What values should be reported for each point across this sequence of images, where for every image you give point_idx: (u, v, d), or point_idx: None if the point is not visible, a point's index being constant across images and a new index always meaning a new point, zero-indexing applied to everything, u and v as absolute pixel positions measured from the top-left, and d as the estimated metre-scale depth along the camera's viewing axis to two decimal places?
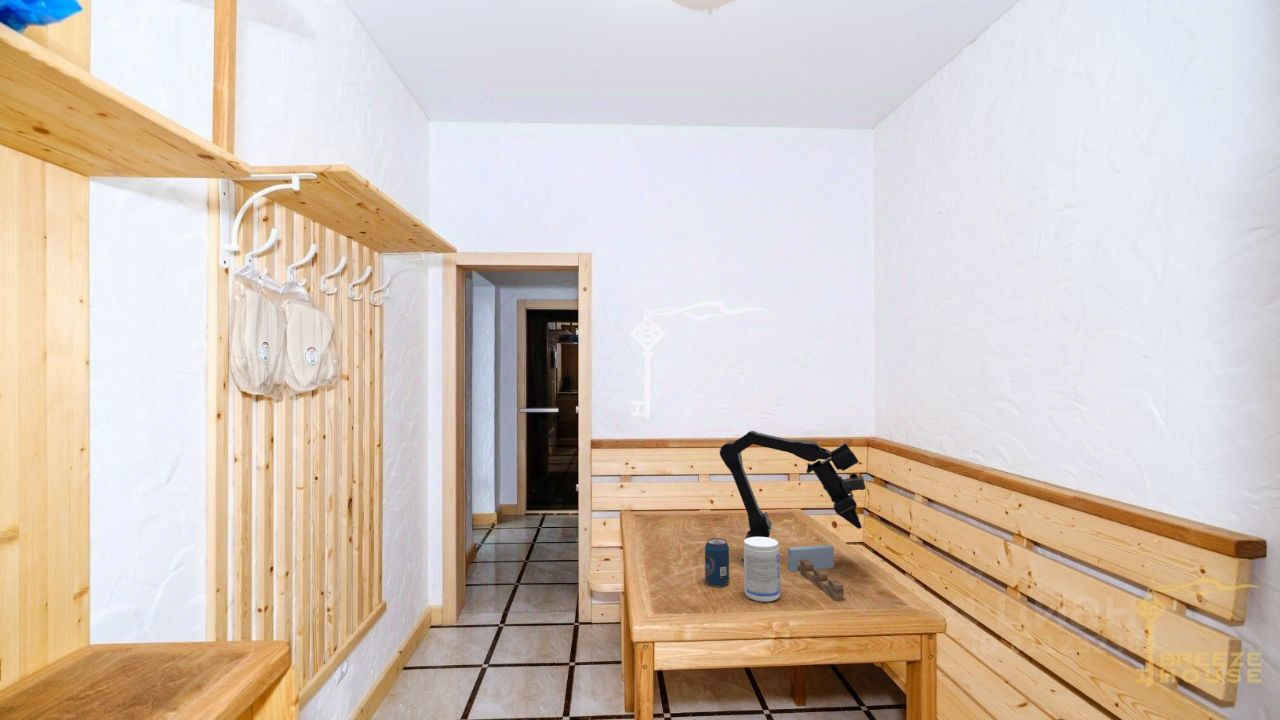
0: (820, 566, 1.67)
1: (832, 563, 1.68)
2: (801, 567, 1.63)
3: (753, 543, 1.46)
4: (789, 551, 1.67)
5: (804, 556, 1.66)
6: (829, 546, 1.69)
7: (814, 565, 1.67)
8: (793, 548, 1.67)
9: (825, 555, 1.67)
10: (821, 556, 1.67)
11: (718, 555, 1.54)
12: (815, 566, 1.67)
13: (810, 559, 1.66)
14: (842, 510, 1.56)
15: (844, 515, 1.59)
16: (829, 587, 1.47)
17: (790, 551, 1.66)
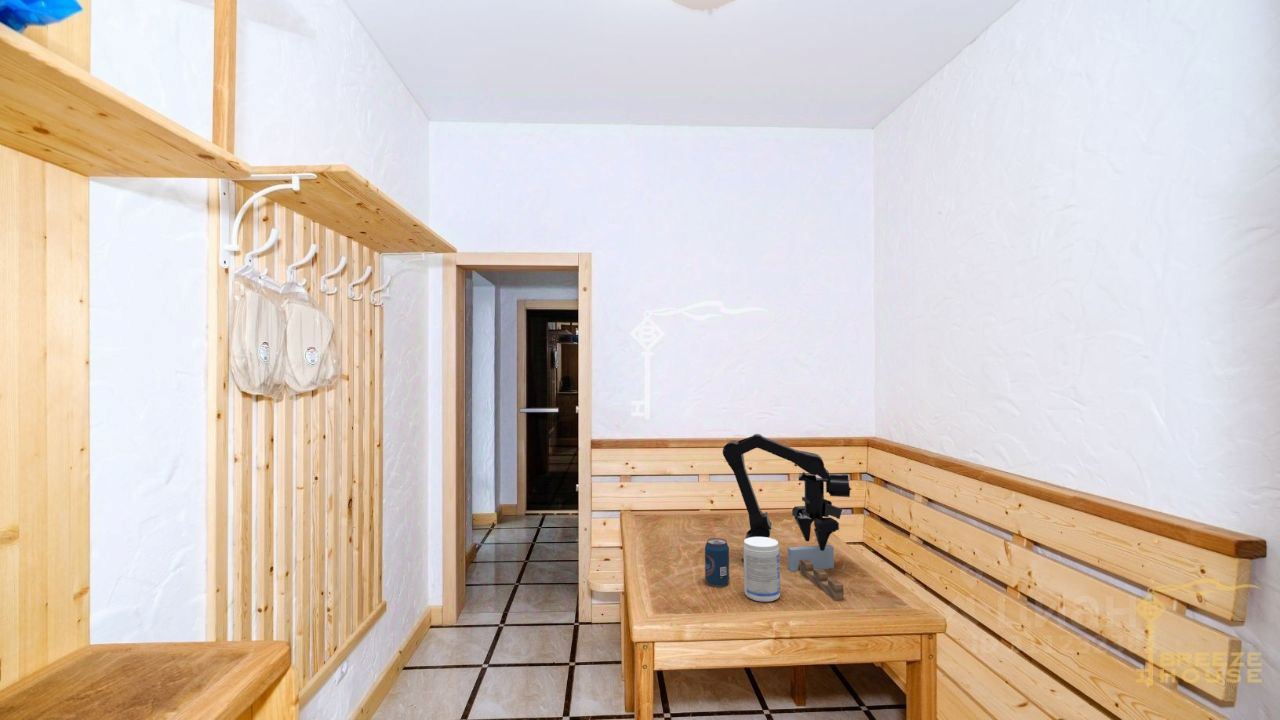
0: (820, 566, 1.67)
1: (832, 563, 1.68)
2: (801, 567, 1.63)
3: (753, 543, 1.46)
4: (789, 551, 1.67)
5: (804, 556, 1.66)
6: (829, 546, 1.69)
7: (814, 565, 1.67)
8: (793, 548, 1.67)
9: (825, 555, 1.67)
10: (821, 556, 1.67)
11: (718, 555, 1.54)
12: (815, 566, 1.67)
13: (810, 559, 1.66)
14: (826, 529, 1.59)
15: (820, 534, 1.62)
16: (829, 587, 1.47)
17: (790, 551, 1.66)
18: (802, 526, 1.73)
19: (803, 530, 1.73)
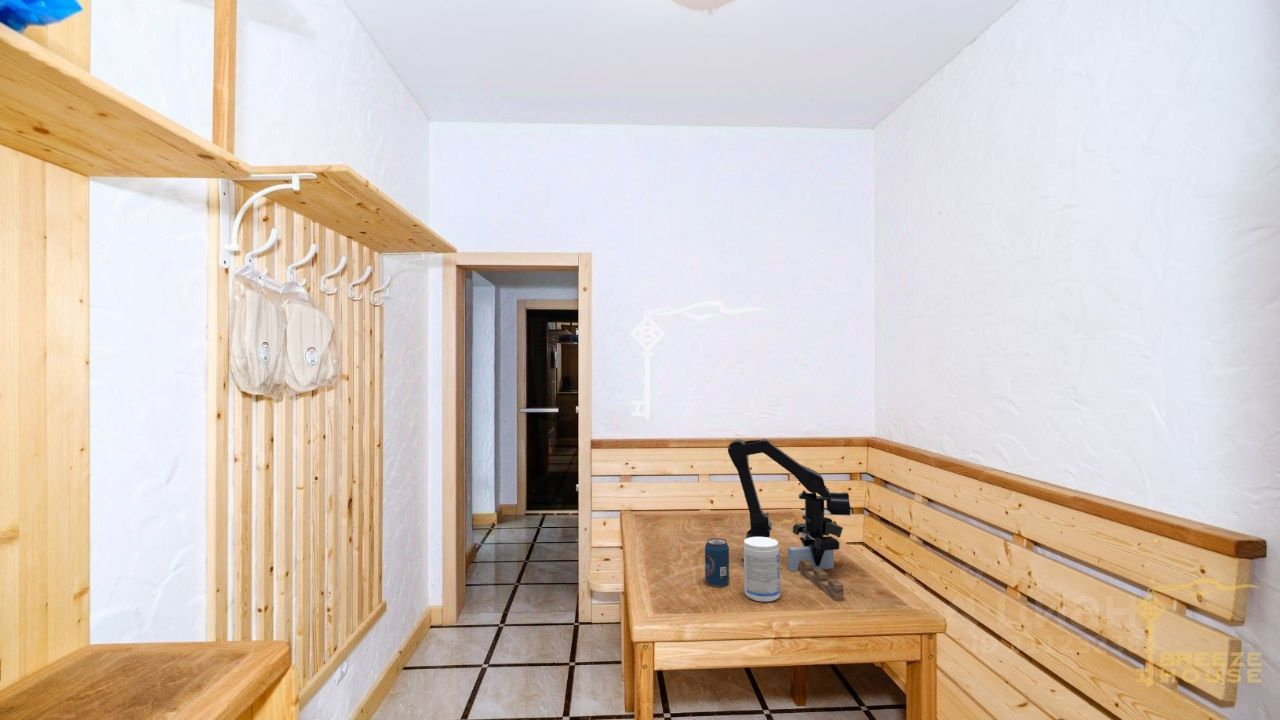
0: (820, 566, 1.67)
1: (832, 563, 1.68)
2: (801, 567, 1.63)
3: (753, 543, 1.46)
4: (789, 551, 1.67)
5: (804, 556, 1.66)
6: None
7: (814, 565, 1.67)
8: (793, 548, 1.67)
9: (825, 555, 1.67)
10: None
11: (718, 555, 1.54)
12: (815, 566, 1.67)
13: (810, 559, 1.66)
14: (827, 548, 1.59)
15: (815, 549, 1.65)
16: (829, 587, 1.47)
17: (790, 551, 1.66)
18: None
19: None
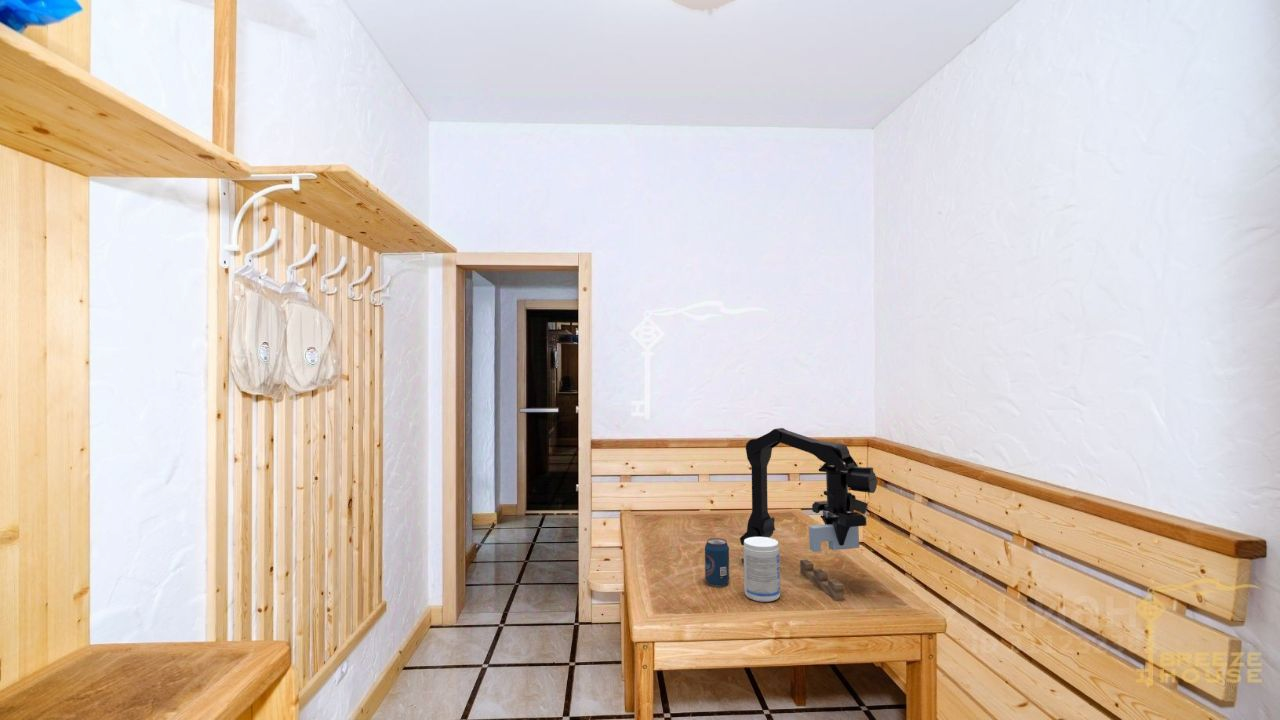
0: (845, 546, 1.53)
1: (857, 542, 1.54)
2: (801, 567, 1.63)
3: (753, 543, 1.46)
4: (811, 530, 1.53)
5: (827, 535, 1.52)
6: None
7: (838, 544, 1.53)
8: (815, 526, 1.53)
9: (849, 533, 1.54)
10: None
11: (718, 555, 1.54)
12: (839, 545, 1.53)
13: (834, 538, 1.52)
14: (853, 525, 1.45)
15: (839, 527, 1.51)
16: (829, 587, 1.47)
17: (812, 529, 1.52)
18: None
19: None
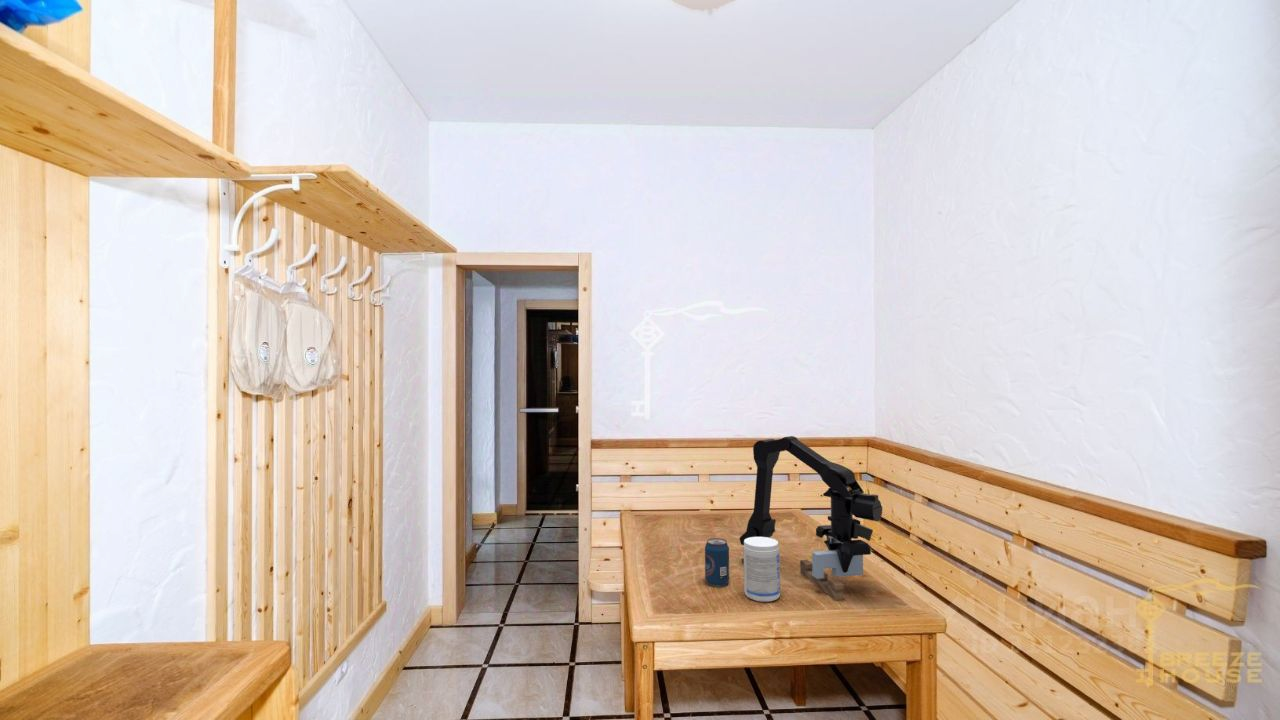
0: (848, 573, 1.50)
1: (861, 569, 1.51)
2: (801, 567, 1.63)
3: (753, 543, 1.46)
4: (814, 556, 1.50)
5: (831, 561, 1.49)
6: None
7: (841, 571, 1.50)
8: (818, 552, 1.50)
9: (854, 560, 1.51)
10: None
11: (718, 555, 1.54)
12: (842, 572, 1.50)
13: (837, 565, 1.50)
14: (857, 553, 1.42)
15: (842, 554, 1.48)
16: (829, 587, 1.47)
17: (815, 556, 1.49)
18: None
19: None
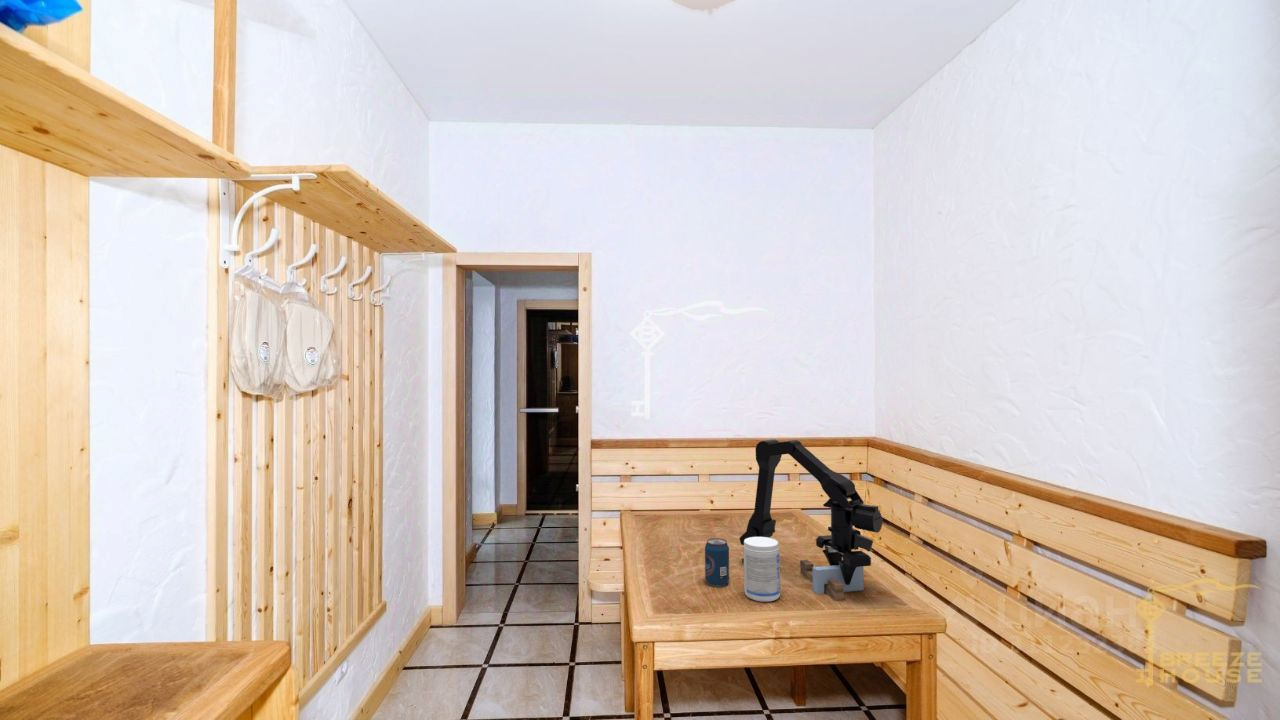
0: (849, 588, 1.50)
1: (862, 584, 1.51)
2: (801, 567, 1.63)
3: (753, 543, 1.46)
4: (814, 571, 1.50)
5: (831, 576, 1.49)
6: None
7: None
8: (818, 568, 1.50)
9: (854, 575, 1.51)
10: None
11: (718, 555, 1.54)
12: (843, 587, 1.50)
13: (837, 580, 1.50)
14: (857, 565, 1.42)
15: (845, 566, 1.47)
16: (829, 587, 1.47)
17: (815, 571, 1.49)
18: (831, 560, 1.54)
19: None
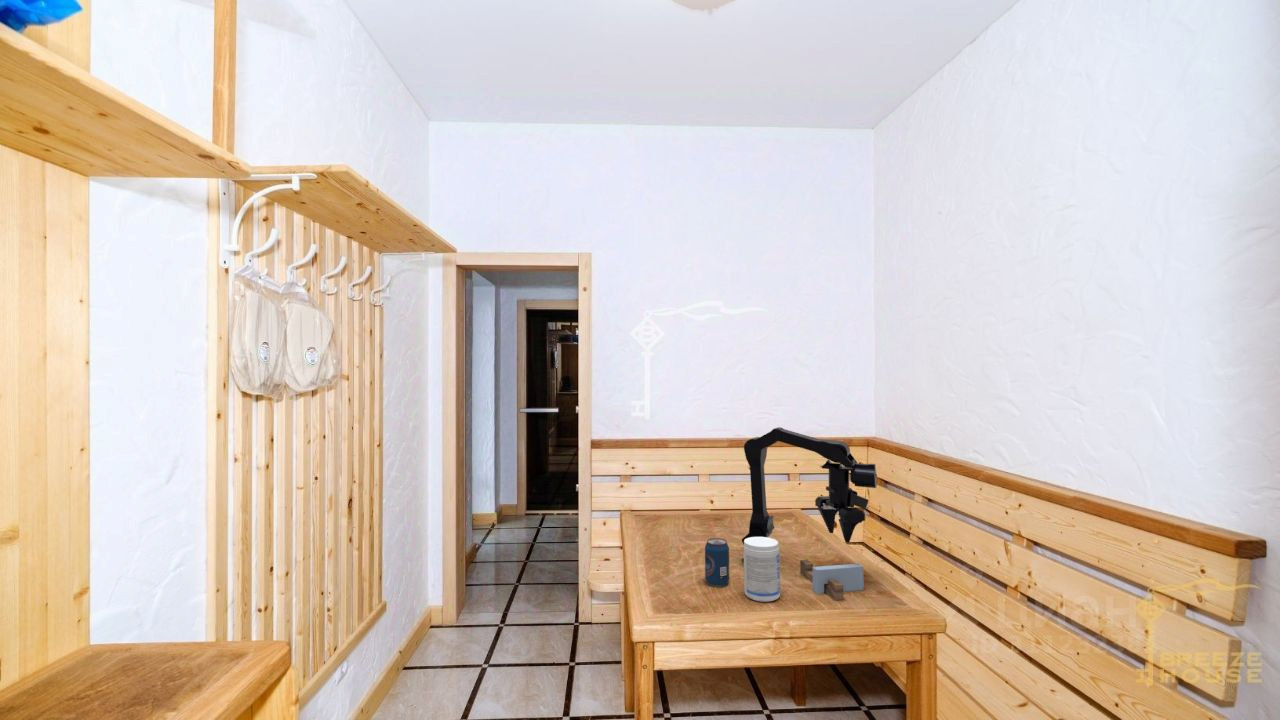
0: (849, 588, 1.50)
1: (862, 584, 1.51)
2: (801, 567, 1.63)
3: (753, 543, 1.46)
4: (814, 571, 1.50)
5: (831, 576, 1.49)
6: (858, 565, 1.52)
7: None
8: (818, 568, 1.50)
9: (854, 575, 1.51)
10: (850, 577, 1.50)
11: (718, 555, 1.54)
12: (843, 587, 1.50)
13: (837, 580, 1.50)
14: (852, 519, 1.51)
15: (845, 524, 1.54)
16: (829, 587, 1.47)
17: (815, 571, 1.49)
18: (826, 517, 1.65)
19: (827, 521, 1.65)
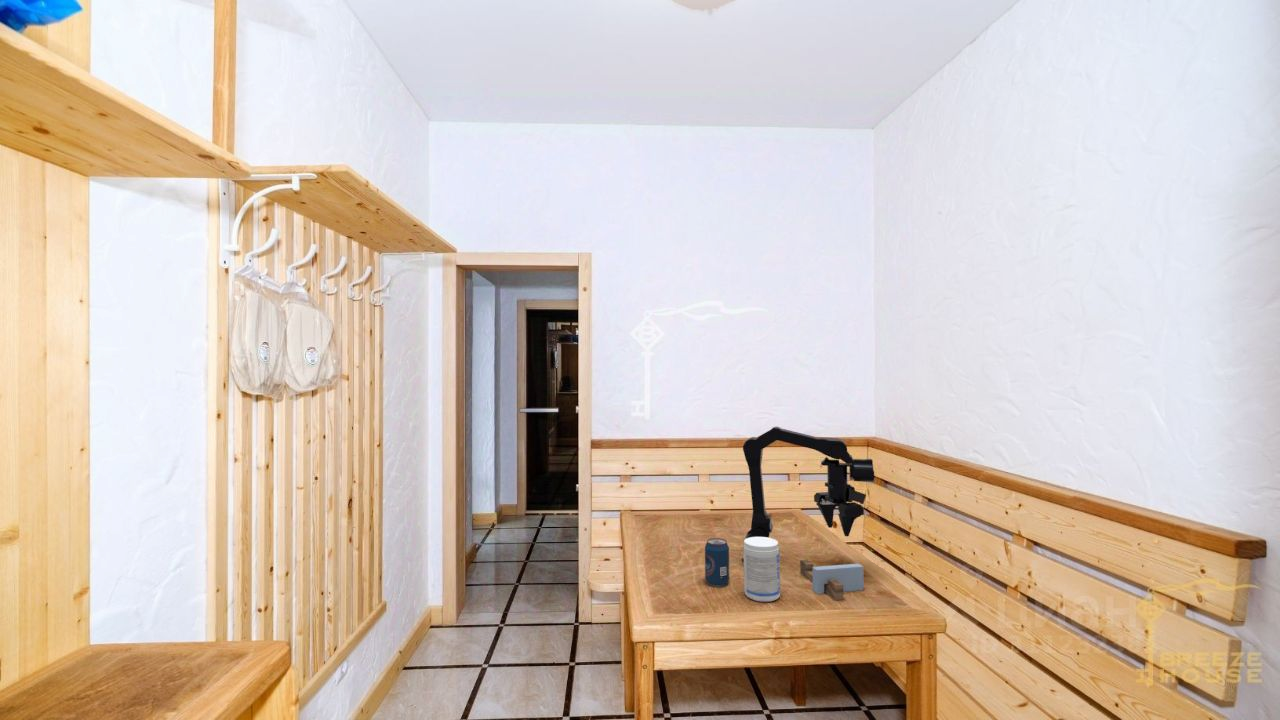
0: (849, 588, 1.50)
1: (862, 584, 1.51)
2: (801, 567, 1.63)
3: (753, 543, 1.46)
4: (814, 571, 1.50)
5: (831, 576, 1.49)
6: (858, 565, 1.52)
7: None
8: (818, 568, 1.50)
9: (854, 575, 1.51)
10: (850, 577, 1.50)
11: (718, 555, 1.54)
12: (843, 587, 1.50)
13: (837, 580, 1.50)
14: (851, 514, 1.56)
15: (844, 519, 1.59)
16: (829, 587, 1.47)
17: (815, 571, 1.49)
18: (824, 512, 1.70)
19: (826, 516, 1.70)
